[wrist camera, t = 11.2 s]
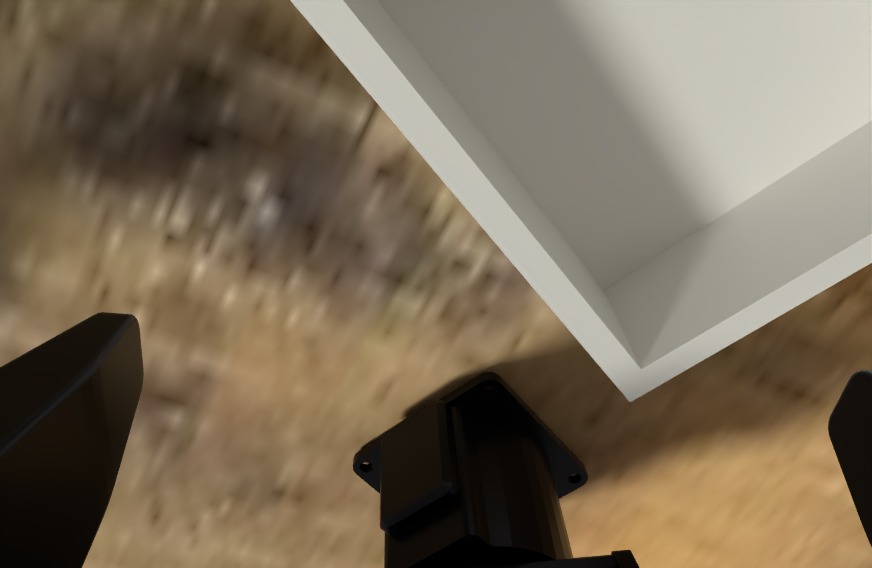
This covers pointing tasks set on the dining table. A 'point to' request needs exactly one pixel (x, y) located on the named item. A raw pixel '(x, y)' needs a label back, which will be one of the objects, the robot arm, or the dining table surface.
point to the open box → (638, 152)
